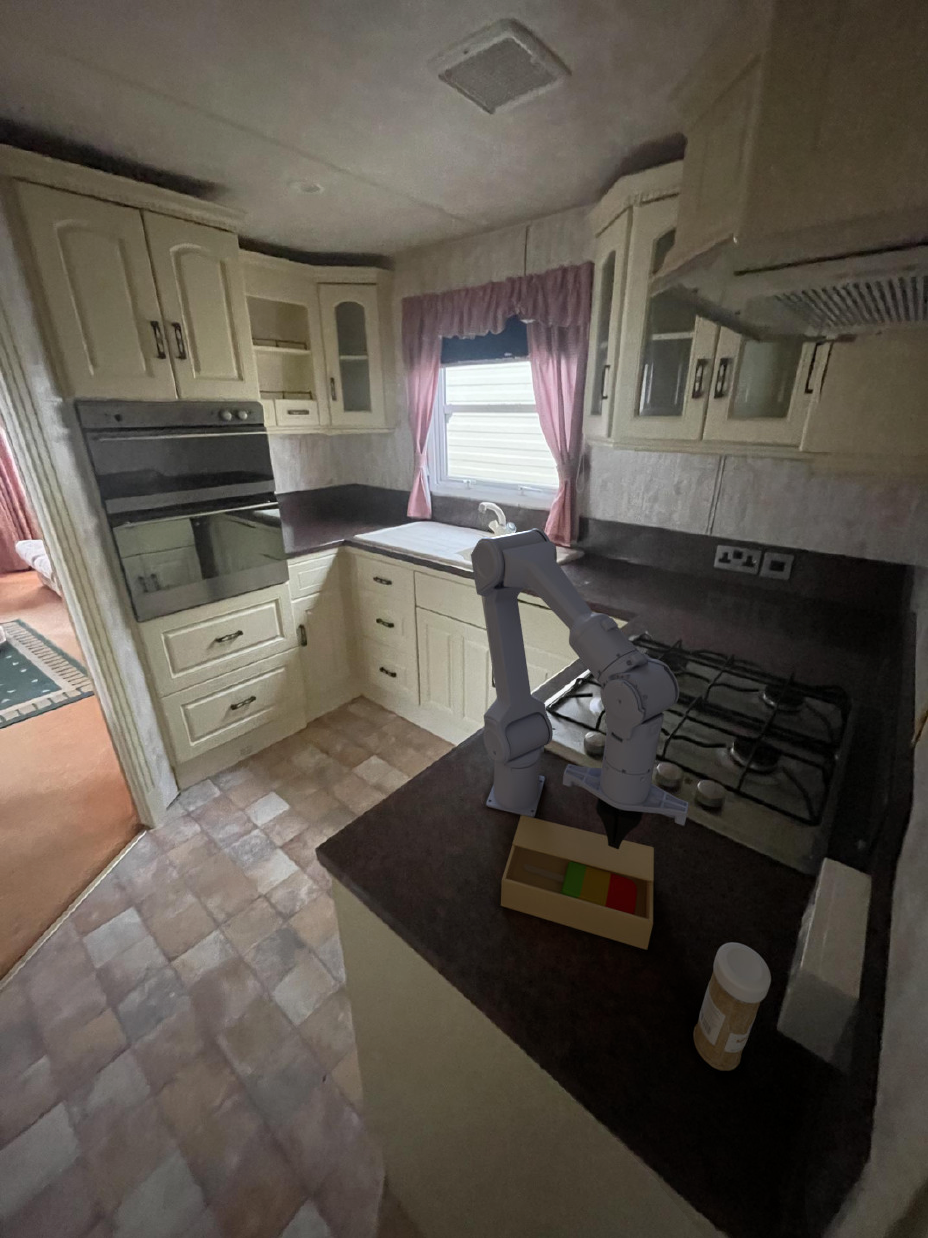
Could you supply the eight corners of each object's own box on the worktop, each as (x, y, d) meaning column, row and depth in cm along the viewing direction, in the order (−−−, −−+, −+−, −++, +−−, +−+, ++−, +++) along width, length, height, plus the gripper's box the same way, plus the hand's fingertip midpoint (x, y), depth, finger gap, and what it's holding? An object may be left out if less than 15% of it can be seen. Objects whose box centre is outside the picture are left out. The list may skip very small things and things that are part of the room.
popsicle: (632, 926, 64) (634, 916, 64) (517, 887, 69) (518, 877, 69) (636, 889, 69) (638, 880, 68) (528, 855, 74) (529, 846, 73)
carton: (519, 842, 77) (520, 818, 75) (648, 876, 71) (653, 850, 69) (500, 905, 67) (501, 880, 65) (647, 950, 62) (653, 923, 60)
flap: (521, 816, 74) (521, 814, 74) (653, 849, 69) (653, 847, 69) (512, 845, 70) (512, 843, 70) (653, 882, 65) (653, 880, 64)
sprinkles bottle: (742, 1081, 50) (775, 999, 45) (692, 1061, 52) (718, 979, 46) (738, 1031, 54) (768, 950, 49) (691, 1013, 56) (715, 933, 50)
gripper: (698, 757, 60) (679, 840, 66) (578, 722, 66) (569, 802, 72) (692, 796, 55) (671, 883, 60) (560, 754, 61) (553, 837, 67)
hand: (615, 842), depth 66 cm, fingers closed
